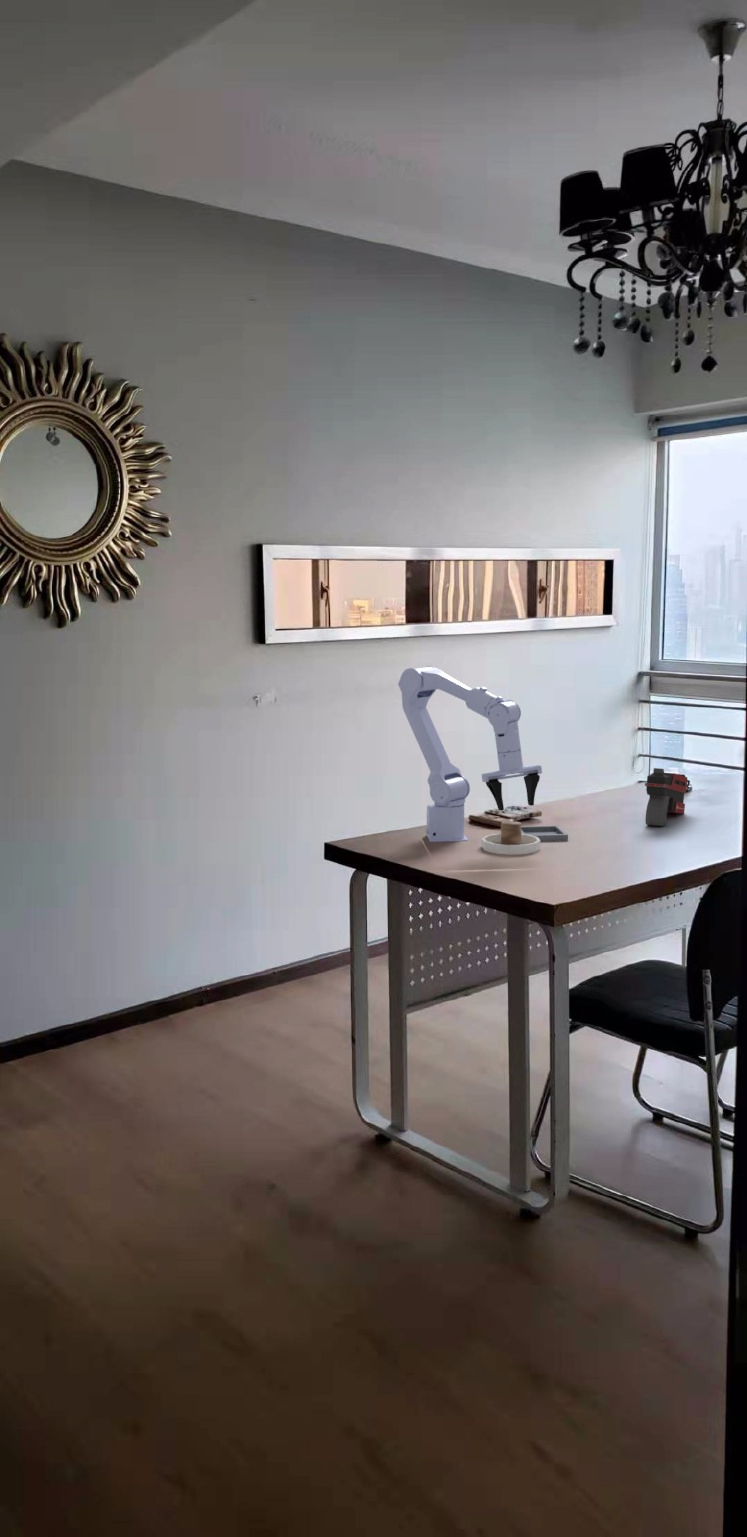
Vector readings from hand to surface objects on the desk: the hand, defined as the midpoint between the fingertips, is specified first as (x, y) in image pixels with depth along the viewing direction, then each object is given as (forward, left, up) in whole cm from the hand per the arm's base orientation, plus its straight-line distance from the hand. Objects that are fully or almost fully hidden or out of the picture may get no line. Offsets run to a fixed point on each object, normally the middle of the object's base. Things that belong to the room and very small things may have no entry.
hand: (516, 807), depth 286 cm
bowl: (-1, -1, -10) cm, 10 cm away
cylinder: (-1, -1, -10) cm, 10 cm away
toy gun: (+47, +30, -10) cm, 57 cm away
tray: (+9, +11, -10) cm, 17 cm away
